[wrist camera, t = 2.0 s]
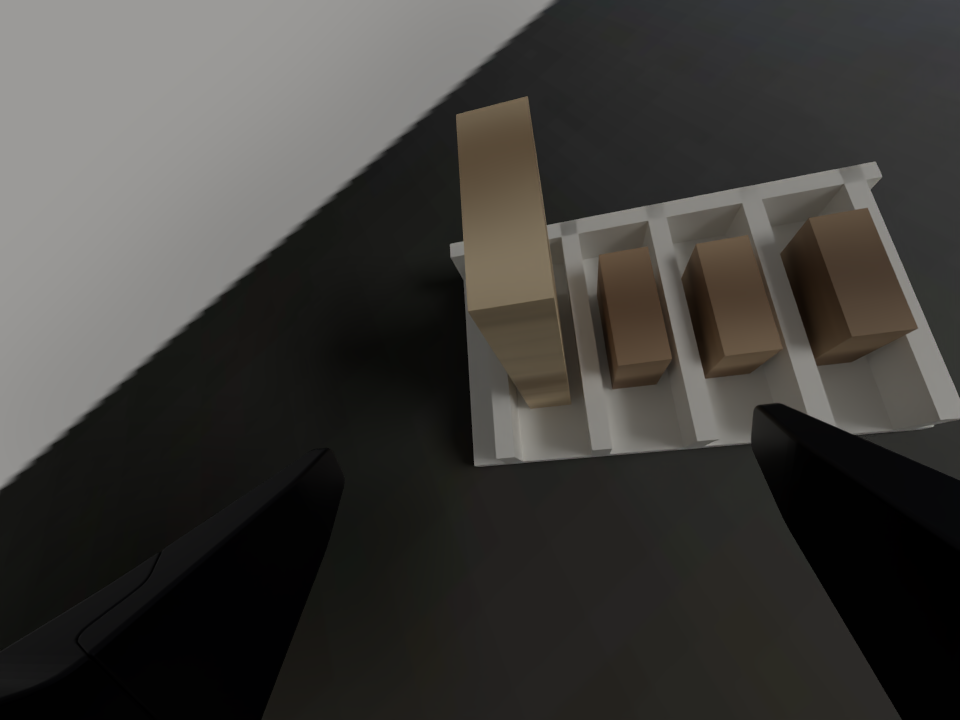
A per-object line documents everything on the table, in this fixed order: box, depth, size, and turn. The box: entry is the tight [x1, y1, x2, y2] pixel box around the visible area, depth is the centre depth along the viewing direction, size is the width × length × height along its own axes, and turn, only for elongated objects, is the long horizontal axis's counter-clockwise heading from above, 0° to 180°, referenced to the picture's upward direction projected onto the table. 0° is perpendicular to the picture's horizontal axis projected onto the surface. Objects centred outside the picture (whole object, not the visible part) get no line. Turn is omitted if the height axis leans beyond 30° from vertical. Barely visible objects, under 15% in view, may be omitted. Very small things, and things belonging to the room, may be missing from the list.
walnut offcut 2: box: [681, 235, 783, 379], centre depth 19 cm, size 5×2×4 cm, turn 4°
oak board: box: [456, 96, 571, 409], centre depth 16 cm, size 6×2×12 cm, turn 4°
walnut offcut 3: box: [780, 208, 918, 366], centre depth 18 cm, size 5×2×4 cm, turn 4°
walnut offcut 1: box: [597, 246, 672, 389], centre depth 19 cm, size 5×2×4 cm, turn 4°
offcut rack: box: [450, 162, 960, 467], centre depth 20 cm, size 11×19×3 cm, turn 94°
